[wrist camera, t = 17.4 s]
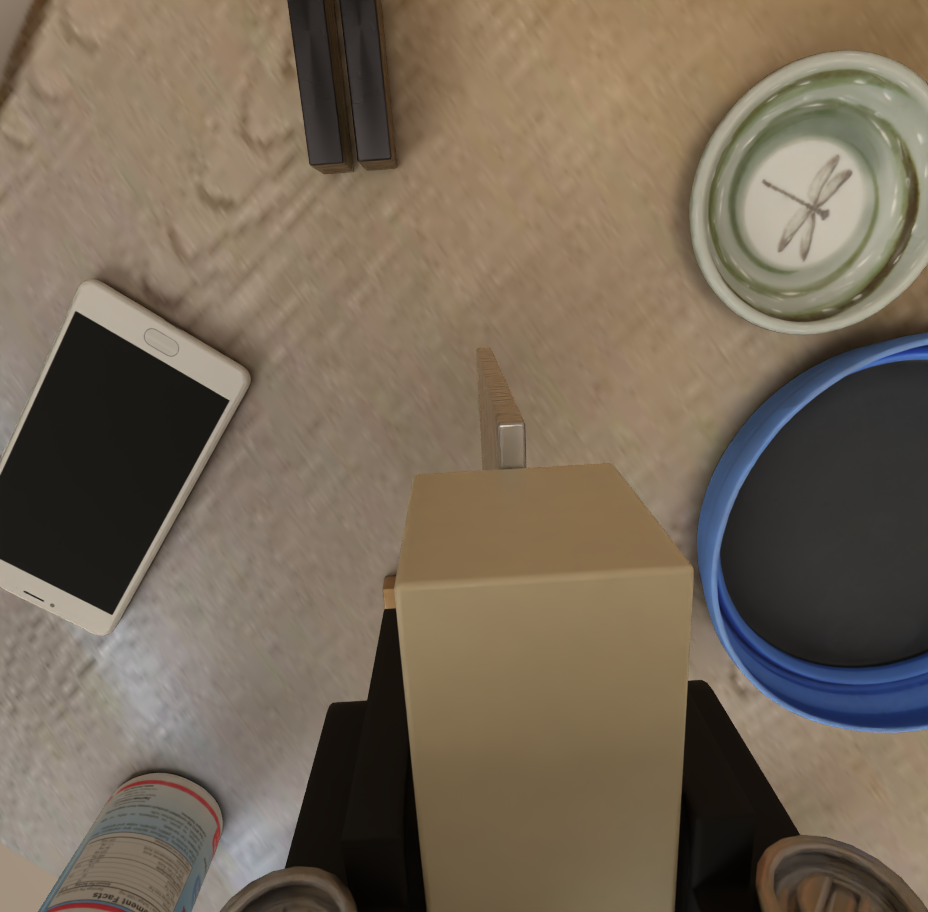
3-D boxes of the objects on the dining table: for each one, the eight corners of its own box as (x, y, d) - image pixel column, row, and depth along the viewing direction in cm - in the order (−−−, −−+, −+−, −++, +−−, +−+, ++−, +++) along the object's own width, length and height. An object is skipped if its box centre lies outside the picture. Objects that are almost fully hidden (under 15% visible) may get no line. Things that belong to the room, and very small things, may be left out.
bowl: (992, 698, 33) (1054, 750, 29) (647, 668, 32) (671, 717, 28) (1142, 347, 27) (1239, 360, 24) (733, 299, 26) (775, 305, 23)
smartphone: (253, 375, 26) (106, 642, 30) (258, 372, 27) (113, 634, 30) (81, 272, 25) (-52, 565, 29) (90, 271, 26) (-41, 558, 29)
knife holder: (323, 174, 25) (309, 165, 22) (291, -73, 22) (272, -113, 20) (397, 168, 25) (391, 159, 22) (373, -79, 22) (364, -120, 20)
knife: (455, 727, 15) (461, 1263, 7) (427, 350, 13) (386, 520, 4) (547, 722, 15) (657, 1252, 7) (539, 344, 13) (700, 501, 4)
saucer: (718, 39, 24) (746, 15, 21) (956, 102, 24) (1009, 86, 22) (641, 300, 26) (659, 305, 24) (857, 350, 27) (895, 359, 25)
